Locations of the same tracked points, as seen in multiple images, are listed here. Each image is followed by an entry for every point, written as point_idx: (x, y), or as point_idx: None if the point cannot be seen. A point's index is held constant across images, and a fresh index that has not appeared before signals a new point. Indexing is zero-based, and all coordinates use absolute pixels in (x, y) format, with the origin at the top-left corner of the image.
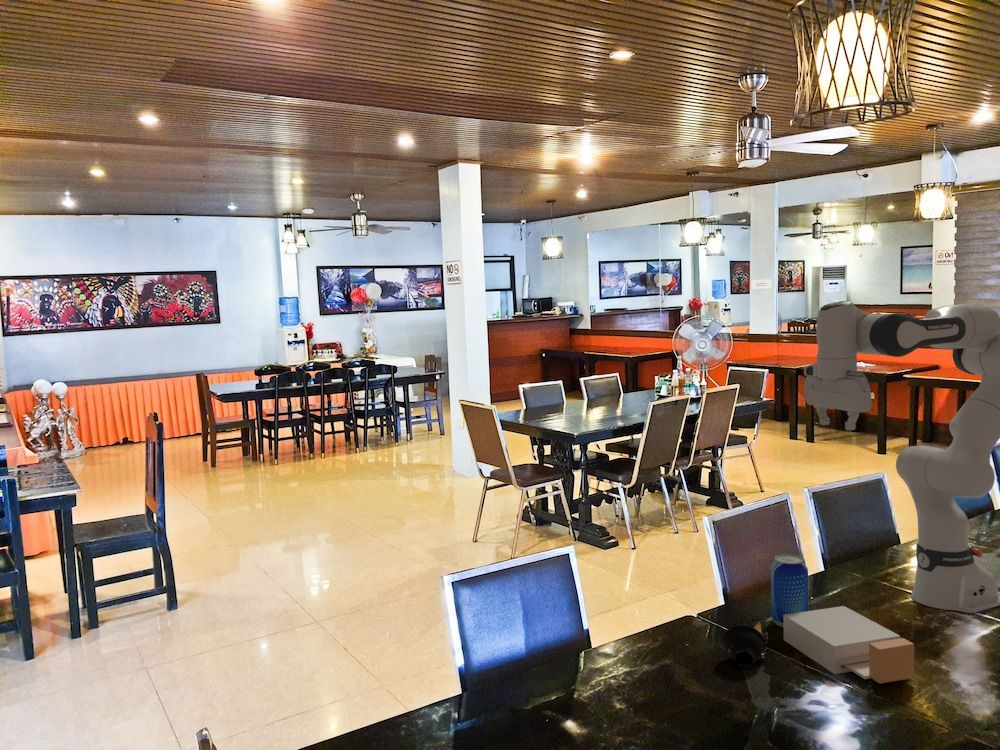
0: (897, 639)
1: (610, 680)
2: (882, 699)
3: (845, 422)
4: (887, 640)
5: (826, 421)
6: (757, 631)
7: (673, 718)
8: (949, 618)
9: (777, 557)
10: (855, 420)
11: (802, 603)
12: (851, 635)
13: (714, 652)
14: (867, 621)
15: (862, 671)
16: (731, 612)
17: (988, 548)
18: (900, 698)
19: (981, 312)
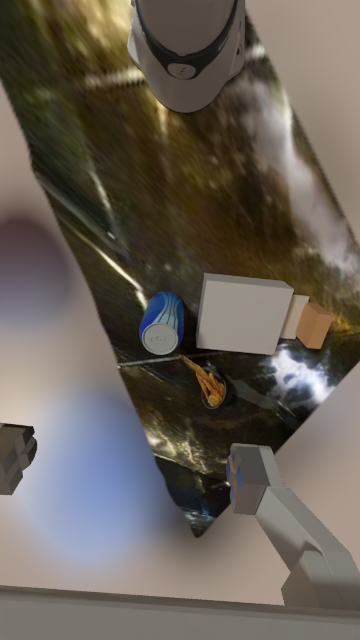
0: (317, 320)
1: (196, 454)
2: None
3: (239, 512)
4: (313, 330)
5: (19, 454)
6: (225, 394)
7: None
8: (236, 120)
9: (145, 344)
10: (301, 511)
11: (183, 316)
12: (266, 327)
13: (190, 390)
14: (251, 290)
15: (288, 334)
16: (121, 336)
17: None
18: None
19: None
